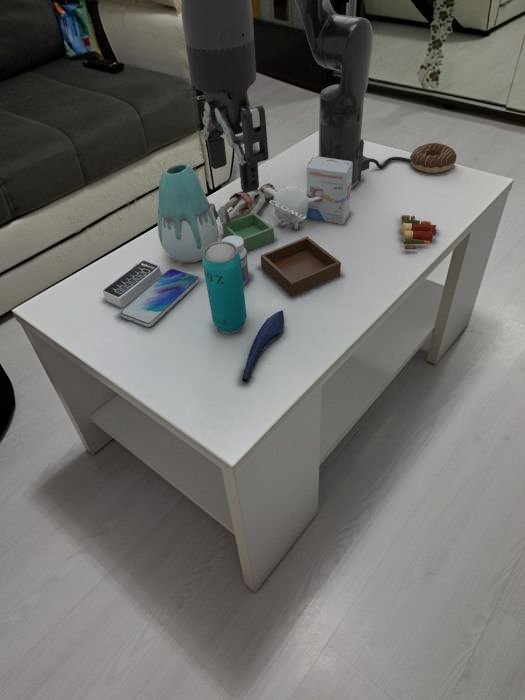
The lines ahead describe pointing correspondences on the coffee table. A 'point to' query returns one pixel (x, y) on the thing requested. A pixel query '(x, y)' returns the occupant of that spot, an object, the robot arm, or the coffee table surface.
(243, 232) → the pill tray
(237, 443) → the coffee table surface
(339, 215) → the ink box
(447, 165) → the donut
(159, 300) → the smartphone
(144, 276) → the multiport hub
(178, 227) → the vase
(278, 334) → the tapered navy handle
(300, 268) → the can tray
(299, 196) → the figurine
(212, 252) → the beverage can
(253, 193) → the figurine
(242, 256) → the pill bottle
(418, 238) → the ammunition
